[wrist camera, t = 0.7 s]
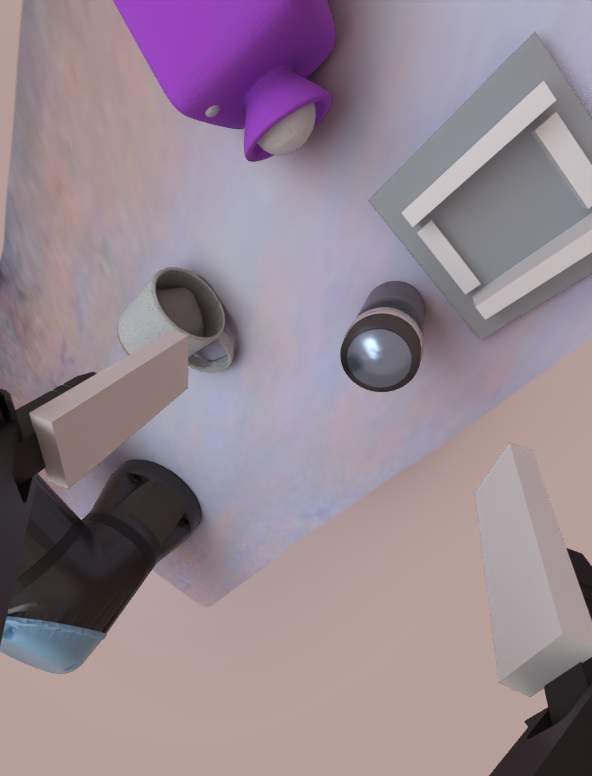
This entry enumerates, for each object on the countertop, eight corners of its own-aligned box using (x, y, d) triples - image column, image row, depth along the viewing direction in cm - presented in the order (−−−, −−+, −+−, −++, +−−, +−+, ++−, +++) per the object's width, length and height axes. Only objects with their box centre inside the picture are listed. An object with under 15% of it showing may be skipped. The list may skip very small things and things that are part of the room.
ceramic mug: (145, 303, 39) (91, 328, 33) (189, 258, 35) (136, 277, 29) (209, 378, 42) (169, 414, 36) (257, 344, 38) (222, 379, 31)
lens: (388, 349, 33) (372, 408, 25) (351, 306, 32) (321, 352, 24) (438, 314, 30) (440, 367, 22) (399, 266, 29) (385, 302, 21)
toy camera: (281, 191, 30) (222, 197, 21) (164, 35, 27) (46, -28, 19) (394, 69, 24) (372, 12, 16) (259, -147, 21) (147, -354, 13)
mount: (478, 335, 30) (484, 355, 26) (370, 199, 28) (361, 202, 24) (653, 227, 23) (691, 235, 20) (530, 37, 21) (549, 10, 18)
